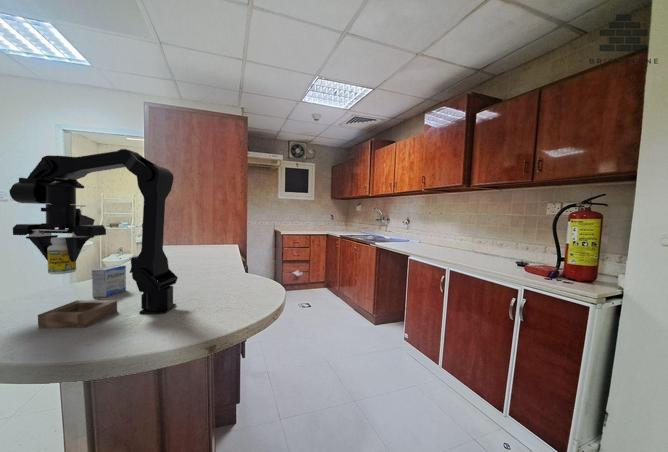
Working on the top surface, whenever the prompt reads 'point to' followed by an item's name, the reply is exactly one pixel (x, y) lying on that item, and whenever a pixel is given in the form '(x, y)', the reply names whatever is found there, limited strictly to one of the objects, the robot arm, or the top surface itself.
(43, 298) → the top surface
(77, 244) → the robot arm
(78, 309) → the socket block
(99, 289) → the medicine box
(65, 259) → the supplement bottle
